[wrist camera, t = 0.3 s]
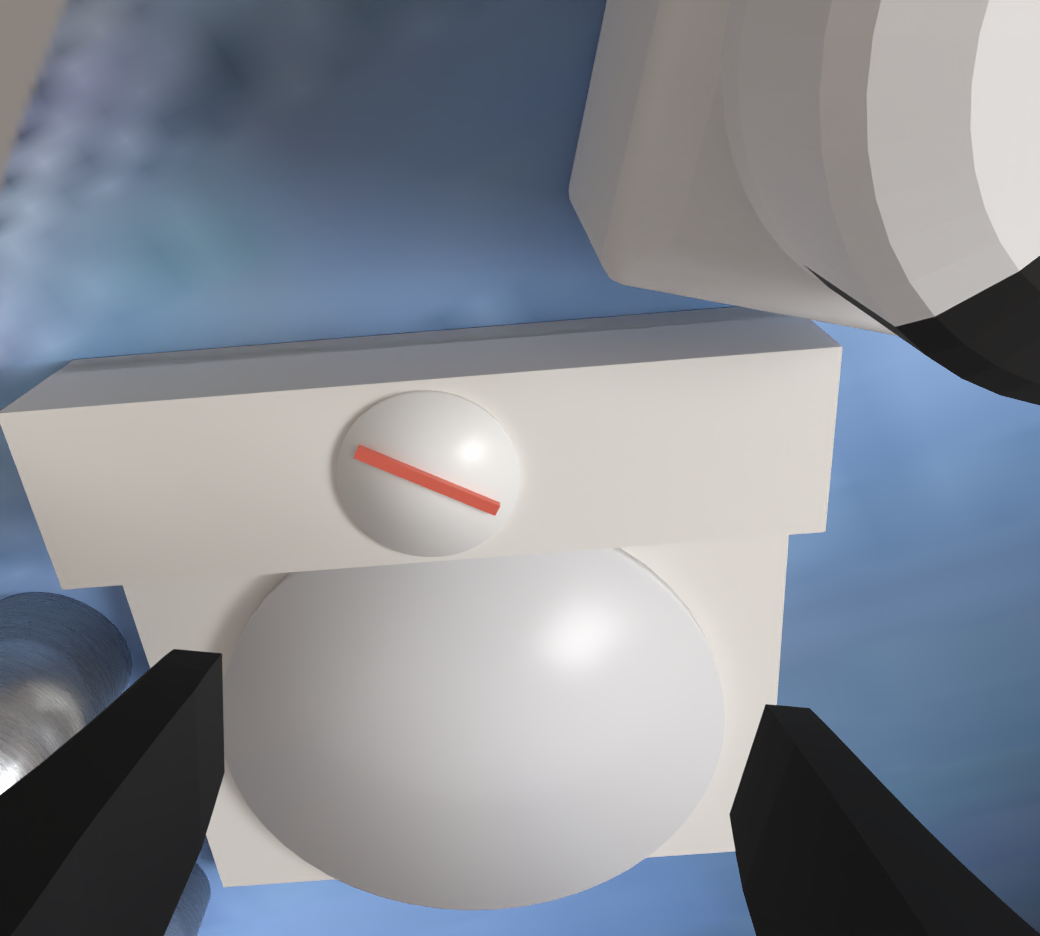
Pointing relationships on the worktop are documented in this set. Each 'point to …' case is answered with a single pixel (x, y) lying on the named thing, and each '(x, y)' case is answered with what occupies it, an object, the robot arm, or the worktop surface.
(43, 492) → the scale
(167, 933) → the cylinder
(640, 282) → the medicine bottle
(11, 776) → the cylinder
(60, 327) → the worktop surface
